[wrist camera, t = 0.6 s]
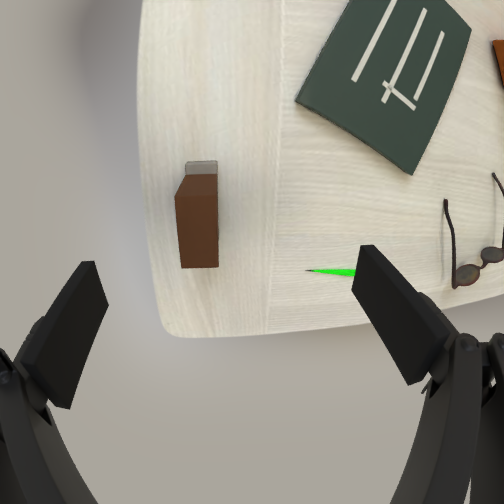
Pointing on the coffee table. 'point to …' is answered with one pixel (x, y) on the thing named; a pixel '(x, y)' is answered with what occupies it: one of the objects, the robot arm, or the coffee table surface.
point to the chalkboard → (389, 74)
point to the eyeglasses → (470, 271)
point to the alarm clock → (500, 55)
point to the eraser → (198, 216)
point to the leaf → (336, 272)
